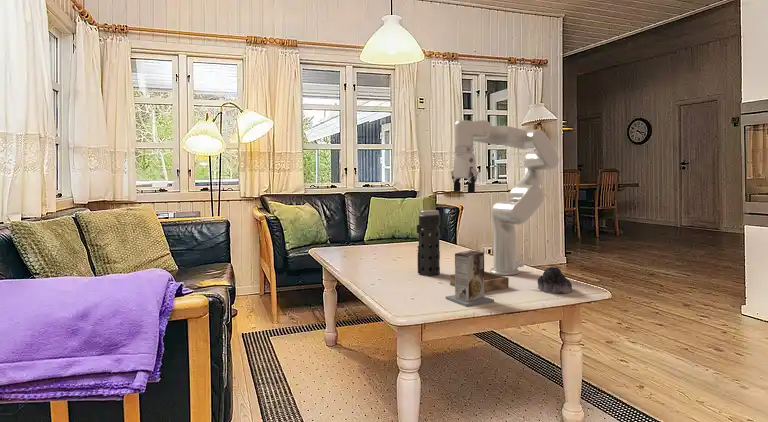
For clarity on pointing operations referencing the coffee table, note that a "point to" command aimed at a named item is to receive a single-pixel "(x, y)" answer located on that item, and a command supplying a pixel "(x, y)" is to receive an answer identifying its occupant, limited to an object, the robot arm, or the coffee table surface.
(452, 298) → the mat
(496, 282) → the corral
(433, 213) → the muzzle brake
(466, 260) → the coffee box
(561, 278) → the crystal cluster
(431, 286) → the coffee table surface
